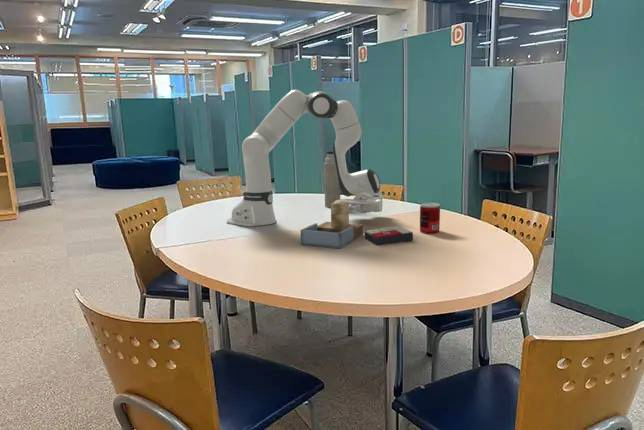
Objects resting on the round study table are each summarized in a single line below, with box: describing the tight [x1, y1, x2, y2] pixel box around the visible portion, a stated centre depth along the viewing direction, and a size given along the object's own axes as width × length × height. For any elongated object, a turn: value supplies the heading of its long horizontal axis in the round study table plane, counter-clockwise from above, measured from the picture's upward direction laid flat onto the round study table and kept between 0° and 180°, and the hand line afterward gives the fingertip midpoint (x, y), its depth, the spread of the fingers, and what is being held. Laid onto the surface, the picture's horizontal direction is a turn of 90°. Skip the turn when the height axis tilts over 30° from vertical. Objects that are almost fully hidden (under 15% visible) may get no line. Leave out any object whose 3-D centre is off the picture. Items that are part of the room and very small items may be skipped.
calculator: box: [363, 225, 414, 246], centre depth 188 cm, size 11×4×15 cm
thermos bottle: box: [323, 150, 341, 209], centre depth 253 cm, size 8×8×28 cm
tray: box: [300, 222, 354, 249], centre depth 185 cm, size 16×12×6 cm
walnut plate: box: [317, 221, 364, 242], centre depth 195 cm, size 16×10×4 cm, turn 64°
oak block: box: [330, 201, 350, 227], centre depth 195 cm, size 5×6×9 cm
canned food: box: [419, 202, 441, 235], centre depth 198 cm, size 8×8×11 cm
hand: (351, 208), depth 205 cm, fingers closed
